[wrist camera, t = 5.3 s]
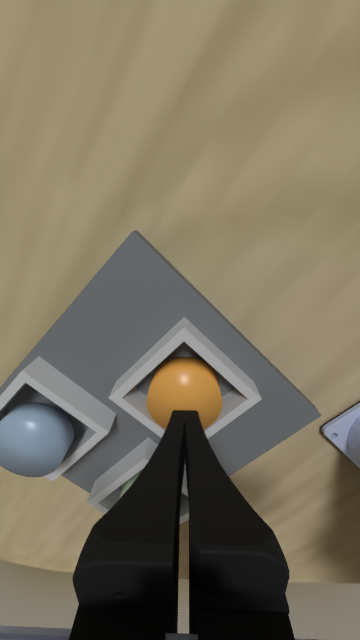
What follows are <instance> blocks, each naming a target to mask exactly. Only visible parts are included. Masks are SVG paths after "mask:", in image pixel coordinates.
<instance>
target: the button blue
mask: <svg viewBox="0 0 360 640" xmlns="http://www.w3.org/2000/svg"><path fill="white" fill-rule="evenodd" d="M73 438H74V430H73V426H72V424H71V422H70V421H69V419H68V418H67V417H66V416H65V415H64V414H63V413H62V412H61V411H59V410H58V409H56V408H54V407H52V406H50V405H47V404H44V403H39V402H27V403H23V404H20V405H18V406H16V407H14V408H13V409H12V410H11V411H10V412H9V413H8V414H7V415H6V416H5V417H4V418H3V419H2V420H1V421H0V465H1V466H2V467H4V468H5V469H7V470H8V471H10V472H13V473H15V474H18V475H22V476H27V477H41V476H46V475H48V474H50V473H52V472H54V471H55V470H56V469H57V468H58V467H59V465H60V464H61V462H62V460H63V458H64V456H65V454H66V453H67V451H68V449H69V447H70V445H71V443H72V441H73Z"/></svg>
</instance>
